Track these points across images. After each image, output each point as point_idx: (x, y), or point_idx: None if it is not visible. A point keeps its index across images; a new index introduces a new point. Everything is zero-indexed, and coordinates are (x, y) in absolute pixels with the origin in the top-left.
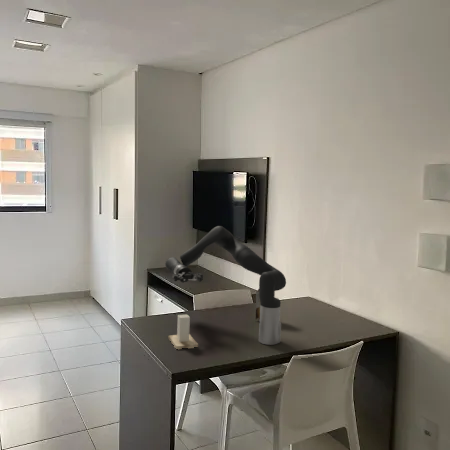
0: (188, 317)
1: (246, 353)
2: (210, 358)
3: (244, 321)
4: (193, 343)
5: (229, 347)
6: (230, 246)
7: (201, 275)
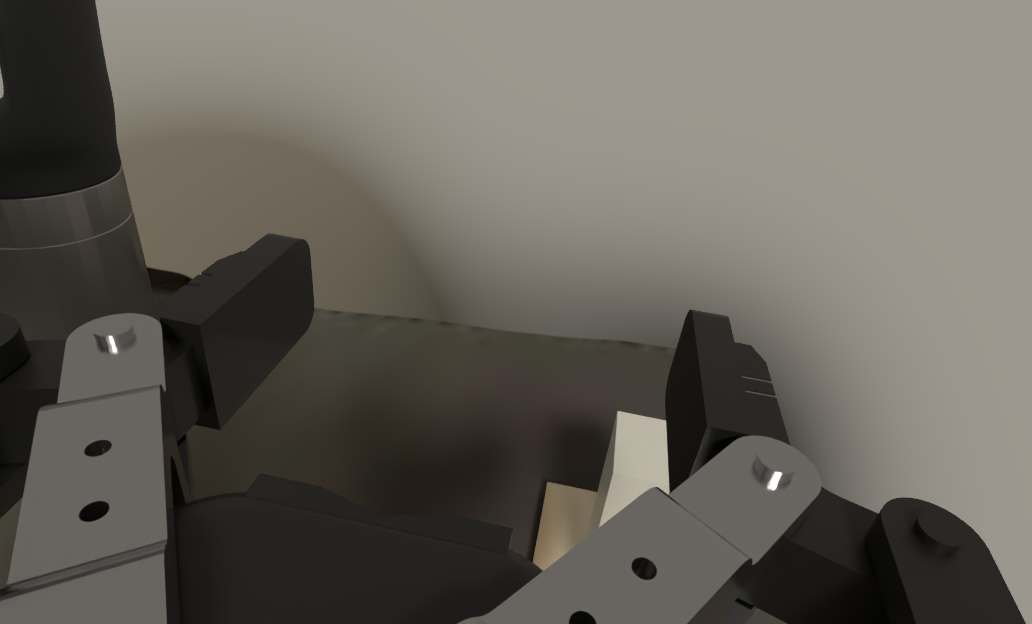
0: (628, 414)
1: (358, 351)
2: (549, 380)
3: None
4: (570, 503)
5: (372, 426)
6: None
7: (21, 331)
